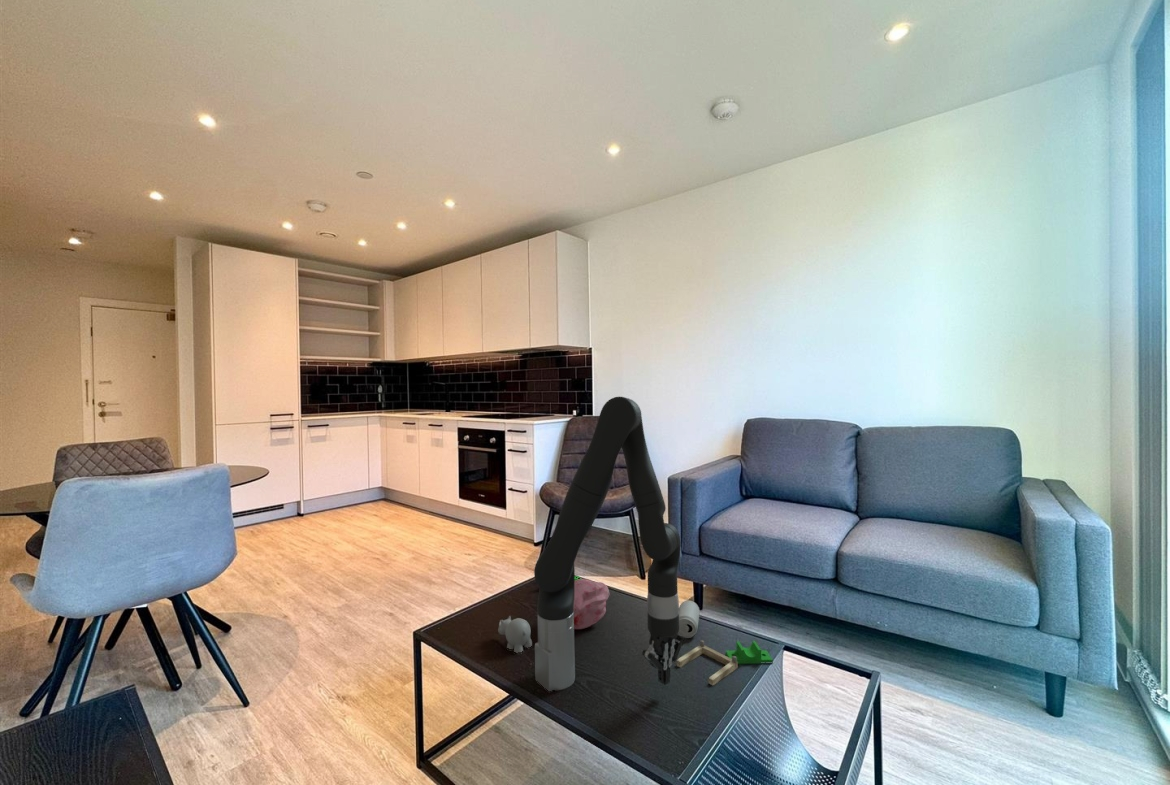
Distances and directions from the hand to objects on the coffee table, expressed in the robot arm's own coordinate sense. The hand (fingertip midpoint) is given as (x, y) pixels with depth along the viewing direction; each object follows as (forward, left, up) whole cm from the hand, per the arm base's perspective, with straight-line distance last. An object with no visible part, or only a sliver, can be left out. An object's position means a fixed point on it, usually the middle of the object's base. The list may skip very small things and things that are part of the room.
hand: (664, 682), depth 108 cm
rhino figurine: (-15, +44, -4) cm, 47 cm away
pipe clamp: (+30, -1, -1) cm, 30 cm away
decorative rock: (+6, +39, -4) cm, 40 cm away
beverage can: (+35, +19, -1) cm, 40 cm away
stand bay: (+17, 0, -4) cm, 18 cm away
